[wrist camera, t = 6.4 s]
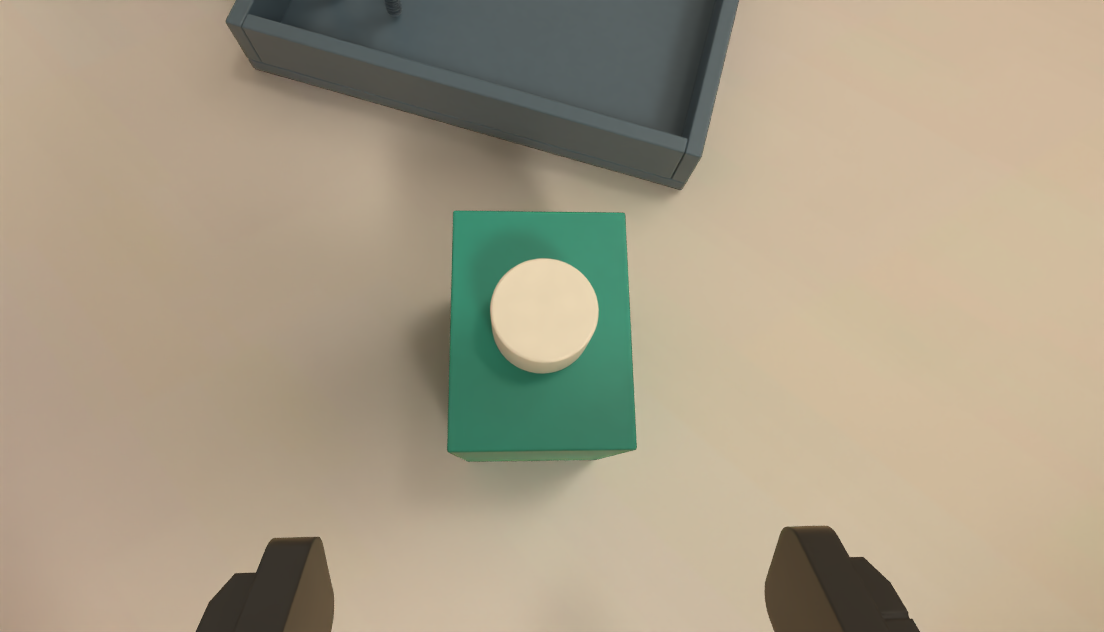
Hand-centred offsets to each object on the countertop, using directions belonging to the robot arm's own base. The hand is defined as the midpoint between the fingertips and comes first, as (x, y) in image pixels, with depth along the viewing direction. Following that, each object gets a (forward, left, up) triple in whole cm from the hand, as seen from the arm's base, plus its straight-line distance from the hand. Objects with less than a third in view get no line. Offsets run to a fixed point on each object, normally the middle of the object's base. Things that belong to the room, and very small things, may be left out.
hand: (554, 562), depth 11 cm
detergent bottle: (+1, -5, -10) cm, 11 cm away
